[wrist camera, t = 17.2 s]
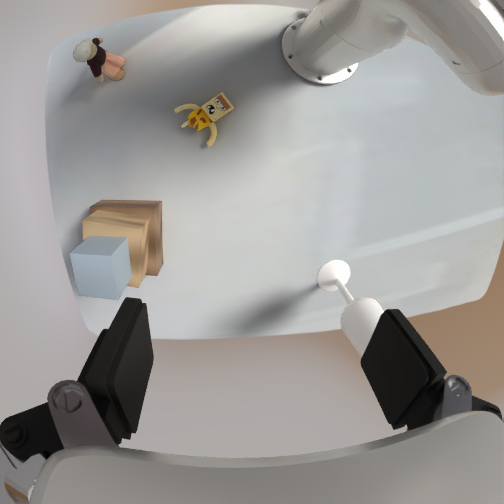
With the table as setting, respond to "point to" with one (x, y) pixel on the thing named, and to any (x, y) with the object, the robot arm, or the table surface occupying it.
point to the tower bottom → (155, 233)
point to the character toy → (207, 114)
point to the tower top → (123, 227)
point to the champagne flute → (351, 305)
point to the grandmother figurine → (99, 59)
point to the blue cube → (101, 266)
